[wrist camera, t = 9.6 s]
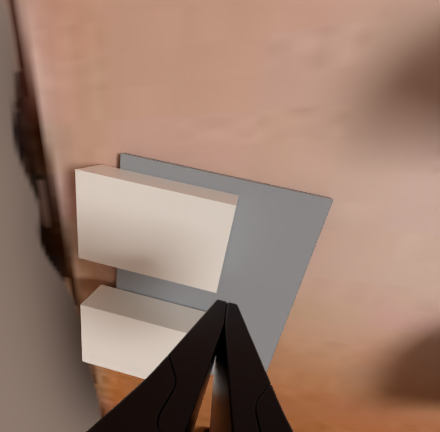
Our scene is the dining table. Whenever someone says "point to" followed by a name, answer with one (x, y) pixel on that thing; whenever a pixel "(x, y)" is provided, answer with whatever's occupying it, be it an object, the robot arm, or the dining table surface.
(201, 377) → the robot arm
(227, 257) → the mat
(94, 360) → the tile
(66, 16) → the dining table surface
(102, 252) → the tile
